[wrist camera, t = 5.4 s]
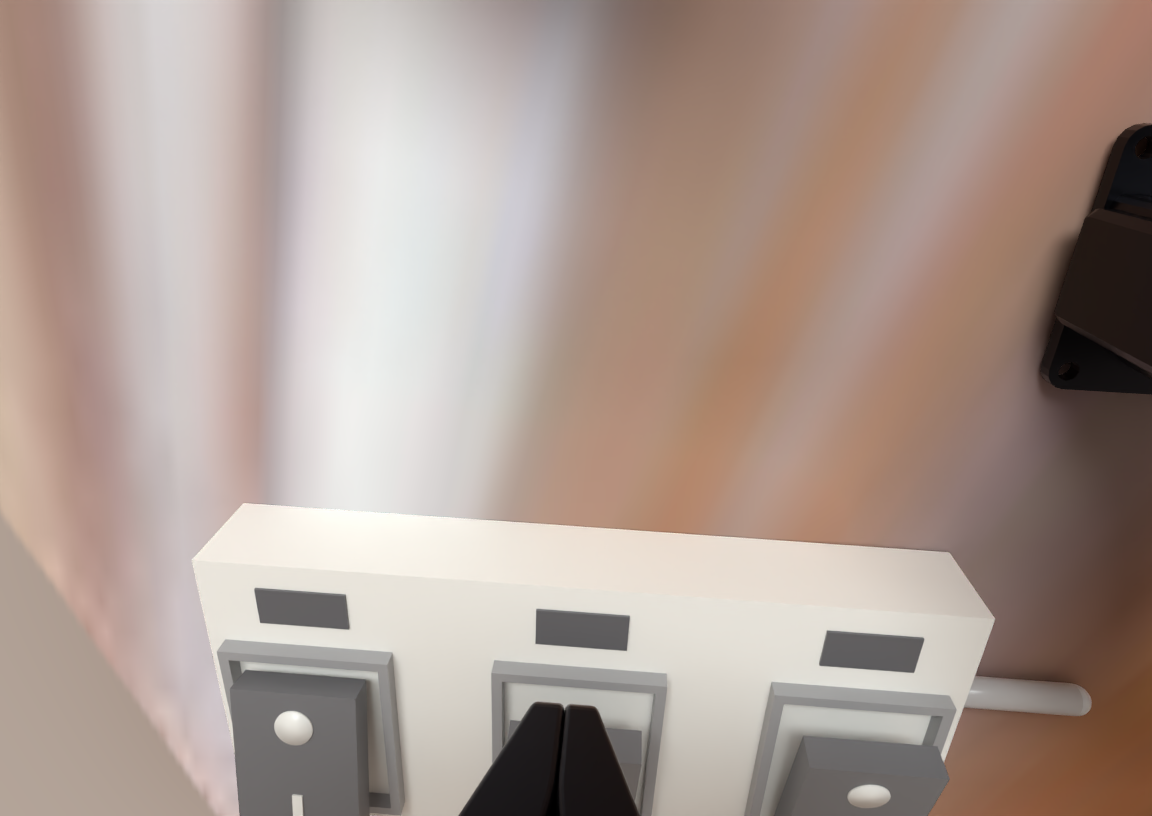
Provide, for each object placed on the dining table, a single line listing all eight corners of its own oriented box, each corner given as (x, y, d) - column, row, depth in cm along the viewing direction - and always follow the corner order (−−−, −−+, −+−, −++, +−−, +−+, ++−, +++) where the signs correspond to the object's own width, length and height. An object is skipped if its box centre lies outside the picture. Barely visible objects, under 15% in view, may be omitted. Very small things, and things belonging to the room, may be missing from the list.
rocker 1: (366, 679, 21) (354, 700, 20) (369, 825, 22) (359, 851, 21) (245, 669, 21) (228, 690, 20) (256, 815, 22) (240, 841, 21)
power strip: (1134, 565, 22) (1222, 648, 18) (1033, 792, 26) (1091, 892, 23) (243, 503, 23) (181, 571, 20) (283, 730, 27) (238, 817, 24)
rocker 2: (937, 746, 19) (950, 781, 19) (885, 839, 22) (894, 873, 22) (803, 735, 20) (810, 769, 19) (768, 829, 22) (773, 862, 22)
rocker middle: (641, 730, 19) (641, 767, 19) (628, 808, 23) (627, 841, 22) (510, 720, 20) (505, 755, 19) (516, 798, 23) (511, 831, 22)
